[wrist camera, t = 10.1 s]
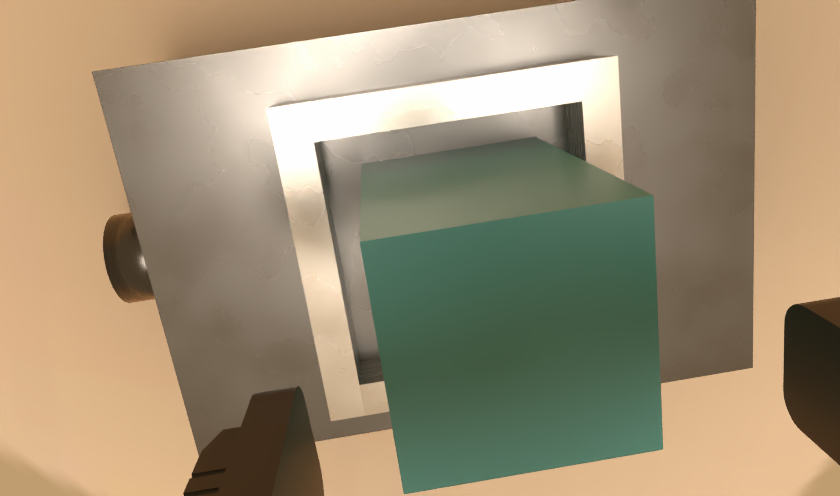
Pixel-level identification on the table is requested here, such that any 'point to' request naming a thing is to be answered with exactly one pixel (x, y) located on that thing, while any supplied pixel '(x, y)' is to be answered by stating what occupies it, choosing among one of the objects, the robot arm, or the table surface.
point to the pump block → (511, 311)
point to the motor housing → (407, 136)
